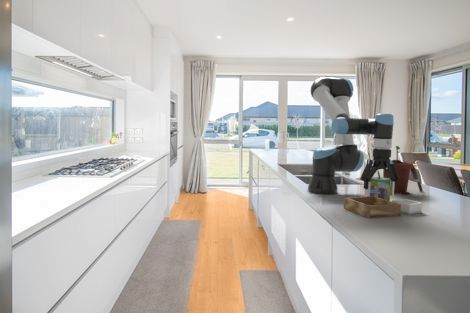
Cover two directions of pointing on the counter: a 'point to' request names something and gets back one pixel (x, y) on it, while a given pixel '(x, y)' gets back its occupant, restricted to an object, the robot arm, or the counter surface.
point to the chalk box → (380, 187)
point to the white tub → (409, 206)
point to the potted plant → (404, 175)
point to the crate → (372, 206)
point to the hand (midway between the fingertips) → (379, 195)
